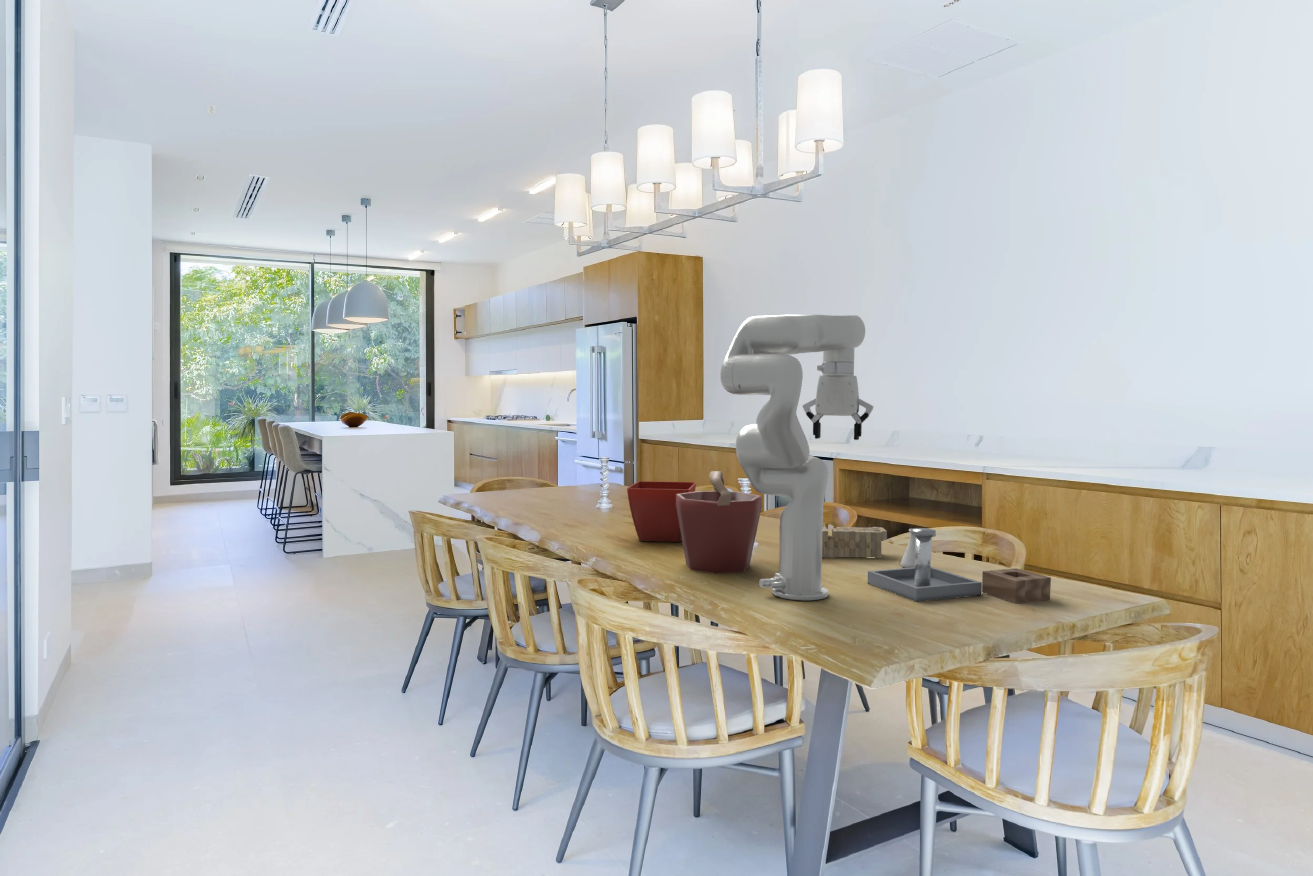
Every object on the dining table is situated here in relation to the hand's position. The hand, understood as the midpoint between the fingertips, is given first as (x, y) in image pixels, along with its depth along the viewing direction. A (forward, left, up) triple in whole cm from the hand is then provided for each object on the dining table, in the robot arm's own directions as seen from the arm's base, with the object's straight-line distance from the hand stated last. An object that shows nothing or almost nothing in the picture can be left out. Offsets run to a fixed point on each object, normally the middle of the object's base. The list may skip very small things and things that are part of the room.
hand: (836, 439), depth 200 cm
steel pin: (+12, -19, -34) cm, 40 cm away
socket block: (+28, -31, -34) cm, 54 cm away
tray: (+12, -19, -34) cm, 41 cm away
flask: (+26, +2, -35) cm, 43 cm away
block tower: (+14, +23, -35) cm, 44 cm away
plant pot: (-23, +61, -35) cm, 74 cm away
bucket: (-24, +19, -34) cm, 46 cm away
